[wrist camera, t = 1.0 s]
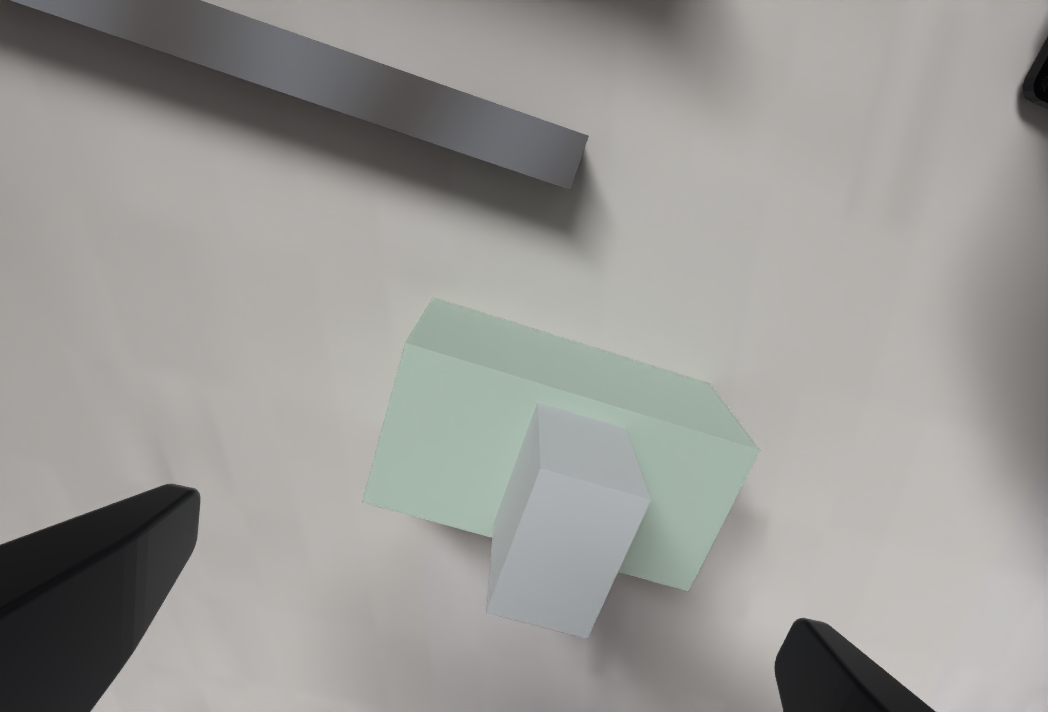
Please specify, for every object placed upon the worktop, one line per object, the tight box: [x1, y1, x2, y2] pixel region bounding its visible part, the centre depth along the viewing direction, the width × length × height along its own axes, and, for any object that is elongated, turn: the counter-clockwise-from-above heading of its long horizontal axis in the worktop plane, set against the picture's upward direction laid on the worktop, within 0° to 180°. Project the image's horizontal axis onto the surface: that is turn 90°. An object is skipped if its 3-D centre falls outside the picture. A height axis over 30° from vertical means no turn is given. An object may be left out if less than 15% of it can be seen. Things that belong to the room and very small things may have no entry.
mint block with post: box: [362, 297, 760, 639], centre depth 17 cm, size 10×5×8 cm, turn 72°
